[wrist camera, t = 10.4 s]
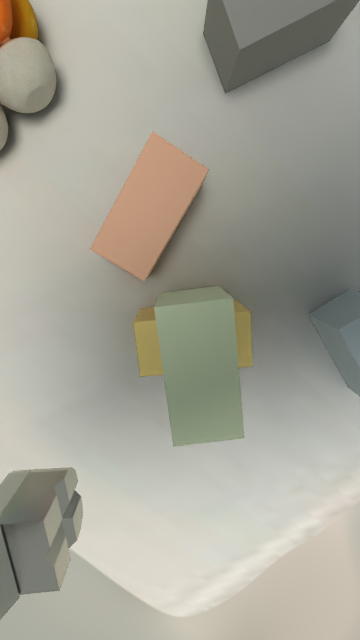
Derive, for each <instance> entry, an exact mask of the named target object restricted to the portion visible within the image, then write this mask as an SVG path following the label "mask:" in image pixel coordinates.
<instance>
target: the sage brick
mask: <svg viewBox="0 0 360 640" xmlns="http://www.w3.org/2000/svg"><path fill="white" fill-rule="evenodd" d="M154 310H155V317H156V325H157V332H158V339H159V346H160V353H161V360H162V368H163V375H164V382H165V389H166V396H167V404H168V411H169V418H170V425H171V432H172V439H173V446H180V445H189V444H198V443H206V442H215V441H224V440H232V439H241V438H244V429H243V416H242V404H241V391H240V378H239V365H238V353H237V340H236V327H235V314H234V302H233V297H231V296H230V295H229V294H228V293H227V292H225V291H224V290H223V289H222V288H221V287H220V286H213V287H205V288H196V289H188V290H179V291H171V292H163V293H159V295H158V297H157V300H156V303H155V306H154Z"/></svg>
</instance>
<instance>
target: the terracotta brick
mask: <svg viewBox="0 0 360 640" xmlns="http://www.w3.org/2000/svg"><path fill="white" fill-rule="evenodd" d="M208 171H209V169H207V168H206V167H204V166H203V165H201V164H200V163H198V162H197V161H195V160H194V159H192V158H191V157H190V156H188V155H187V154H185V153H184V152H182V151H181V150H179V149H178V148H176V147H175V146H173V145H172V144H170V143H169V142H167V141H166V140H164V139H163V138H161V137H160V136H158V135H157V134H156V133H154V132H152V133H151V135H150V137H149V139H148V141H147V143H146V145H145V147H144V149H143V150H142V152H141V154H140V156H139V158H138V160H137V162H136V164H135V165H134V167H133V169H132V171H131V173H130V175H129V177H128V179H127V181H126V182H125V184H124V186H123V188H122V190H121V192H120V194H119V196H118V197H117V199H116V201H115V203H114V205H113V207H112V209H111V211H110V213H109V214H108V216H107V218H106V220H105V222H104V224H103V226H102V228H101V230H100V231H99V233H98V235H97V237H96V239H95V241H94V243H93V245H92V246H91V248H90V250H92V251H94V252H95V253H97V254H99V255H100V256H102V257H104V258H106V259H107V260H109V261H111V262H112V263H114V264H116V265H117V266H119V267H121V268H122V269H124V270H126V271H127V272H129V273H131V274H132V275H134V276H136V277H137V278H139V279H141V280H142V281H145V280H146V279H147V277H148V276H149V275H150V274H151V272H152V270H153V268H154V267H155V265H156V263H157V261H158V260H159V258H160V256H161V255H162V253H163V251H164V249H165V248H166V246H167V244H168V243H169V241H170V239H171V237H172V236H173V234H174V232H175V231H176V229H177V227H178V225H179V224H180V222H181V220H182V219H183V217H184V215H185V213H186V212H187V210H188V208H189V207H190V205H191V203H192V201H193V200H194V198H195V196H196V195H197V193H198V191H199V189H200V188H201V186H202V184H203V182H204V180H205V177H206V175H207V173H208Z"/></svg>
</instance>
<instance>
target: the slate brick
mask: <svg viewBox="0 0 360 640" xmlns="http://www.w3.org/2000/svg"><path fill="white" fill-rule="evenodd" d="M308 316H309V318H310V320H311V321H312V323H313V325H314V327H315V329H316V330H317V332H318V334H319V336H320V338H321V339H322V341H323V343H324V345H325V347H326V348H327V350H328V352H329V354H330V356H331V357H332V359H333V361H334V363H335V365H336V366H337V368H338V370H339V372H340V374H341V375H342V377H343V379H344V381H345V383H346V384H347V386H348V387H349V388H350V389H351V390H352V391H354V392H355V393H356V394H358V395H359V396H360V291H356V290H351V289H349V290H347V291H346V292H344V293H342V294H341V295H339V296H337V297H336V298H334V299H333V300H331V301H329V302H328V303H326V304H324V305H323V306H321V307H319V308H318V309H316V310H314V311H313V312H311V313H309V314H308Z"/></svg>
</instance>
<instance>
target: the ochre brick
mask: <svg viewBox="0 0 360 640" xmlns="http://www.w3.org/2000/svg"><path fill="white" fill-rule="evenodd" d="M233 302H234V314H235V327H236V340H237V353H238V365H239V368H241V367H252V366H253V363H252V337H251V312H250V311H249V310H248V309H247V308H246V307H244V306H243V305H242V304H241V303H240V302H238V301H237V300H236V299H235V300H233ZM133 324H134V332H135V340H136V347H137V355H138V363H139V371H140V377H144V376H155V375H163V368H162V360H161V353H160V346H159V339H158V332H157V325H156V317H155V310H154V307H148V308H141V309H140V311H139V313H138V314H137V316H136V318H135V320H134V322H133Z"/></svg>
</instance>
